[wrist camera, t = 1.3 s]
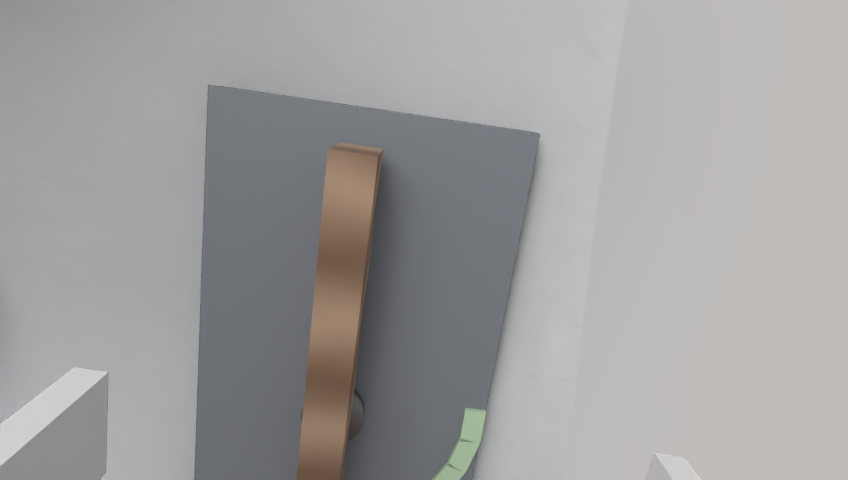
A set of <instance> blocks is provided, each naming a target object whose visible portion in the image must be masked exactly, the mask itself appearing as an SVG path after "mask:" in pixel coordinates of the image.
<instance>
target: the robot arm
mask: <svg viewBox="0 0 848 480" xmlns="http://www.w3.org/2000/svg"><path fill="white" fill-rule="evenodd" d="M107 411H108V372H104V371H97V370H90V369H84V368H77V367H74V368H73V369H71V370H70V371H69V372H67V373H66V374H65V375H64V376H62V377H61V378H60V379H58V380H57V381H56V382H54V383H53V384H52V385H50V386H49V387H48V388H47V389H45V390H44V391H43V392H41V393H40V394H39V395H37V396H36V397H35V398H34V399H32V400H31V401H30V402H28V403H27V404H26V405H24V406H23V407H22V408H21V409H19V410H18V411H17V412H15V413H14V414H13V415H11V416H10V417H9V418H7V419H6V420H5V421H4V422H2V423H1V424H0V480H100V479H101V478H102V477H103V476H104V474H105V473H106V451H107ZM645 480H701V479H700V477H699V476H698V475H697V474H696V472H695V471H694V469H693V468H692V467H691V466H690V464H689V463H688V462H687V460H686V459H685V458H684V457H680V456H673V455H667V454H660V453H654V455H653V458H652V461H651V464H650V467H649V470H648V473H647V476H646V479H645Z"/></svg>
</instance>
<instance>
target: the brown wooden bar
mask: <svg viewBox="0 0 848 480" xmlns="http://www.w3.org/2000/svg"><path fill="white" fill-rule="evenodd" d="M383 150H384V148H377V147H370V146H363V145H356V144H349V143H342V142H341V143H339V144H337V145H335V146H333V147H331V148H329V149H328V152H327V163H326V174H325V184H324V195H323V205H322V216H321V226H320V237H319V247H318V258H317V269H316V279H315V290H314V300H313V311H312V321H311V332H310V343H309V353H308V364H307V374H306V385H305V395H304V405H303V408H302V411H301V423H302V427H301V438H300V448H299V459H298V469H297V480H343V478H344V470H345V462H346V453H347V445H348V441H350V440H352V439H353V438H354V437H355V436H356V435H357V434H358V433H359V431H360V429H361V427H362V424H363V418H364V410H365V409H364V403H363V400H362V398H361V396H360V395H359V394H358V393H357V392H356V391H355V390H354V388H355V380H356V371H357V363H358V355H359V347H360V339H361V331H362V322H363V314H364V306H365V298H366V290H367V281H368V273H369V265H370V257H371V249H372V240H373V232H374V224H375V216H376V208H377V200H378V191H379V183H380V175H381V167H382V159H383Z"/></svg>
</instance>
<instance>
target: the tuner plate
mask: <svg viewBox="0 0 848 480" xmlns="http://www.w3.org/2000/svg"><path fill="white" fill-rule="evenodd" d="M539 138H540V134H538V133H534V132H529V131H522V130H515V129H508V128H502V127H495V126H488V125H481V124H474V123H468V122H461V121H454V120H447V119H441V118H434V117H427V116H420V115H413V114H407V113H400V112H393V111H386V110H379V109H373V108H366V107H359V106H352V105H346V104H339V103H332V102H325V101H318V100H312V99H305V98H298V97H291V96H285V95H278V94H271V93H264V92H257V91H251V90H244V89H237V88H230V87H224V86H214V85H208V101H207V130H206V159H205V187H204V216H203V245H202V274H201V303H200V332H199V361H198V390H197V418H196V447H195V476H194V480H297V469H298V459H299V448H300V438H301V427H302V423H301V411H302V408H303V405H304V395H305V385H306V374H307V364H308V353H309V343H310V332H311V321H312V311H313V300H314V290H315V279H316V269H317V258H318V247H319V237H320V226H321V216H322V205H323V195H324V184H325V174H326V163H327V152H328V149H329V148H331V147H333V146H335V145H337V144H339V143H341V142H342V143H349V144H356V145H363V146H370V147H377V148H384V150H383V159H382V167H381V175H380V183H379V191H378V200H377V208H376V216H375V224H374V232H373V240H372V249H371V257H370V265H369V273H368V281H367V290H366V298H365V306H364V314H363V322H362V331H361V339H360V347H359V355H358V363H357V371H356V380H355V388H354V390H355V391H356V392H357V393H358V394H359V395H360V396H361V398H362V400H363V403H364V409H365V410H364V418H363V424H362V427H361V429H360V431H359V433H358V434H357V435H356V436H355V437H354V438H353V439H352V440H350V441H348V445H347V453H346V462H345V470H344V478H343V480H472V477H473V472H474V467H475V461H476V456H477V451H478V447H479V445H480V442H481V437H482V432H483V427H484V422H485V417H486V406H487V401H488V396H489V391H490V386H491V381H492V375H493V370H494V365H495V360H496V355H497V350H498V345H499V340H500V335H501V330H502V325H503V320H504V315H505V310H506V305H507V300H508V295H509V290H510V284H511V279H512V274H513V269H514V264H515V259H516V254H517V249H518V244H519V239H520V234H521V229H522V224H523V219H524V214H525V209H526V204H527V198H528V193H529V188H530V183H531V178H532V173H533V168H534V163H535V158H536V153H537V148H538V143H539Z"/></svg>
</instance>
